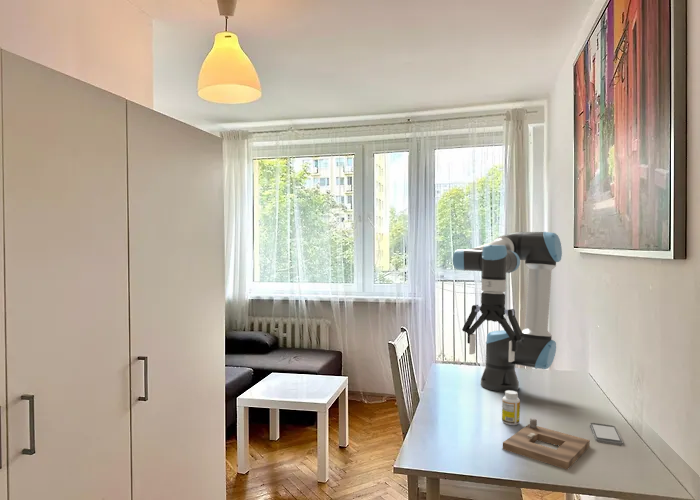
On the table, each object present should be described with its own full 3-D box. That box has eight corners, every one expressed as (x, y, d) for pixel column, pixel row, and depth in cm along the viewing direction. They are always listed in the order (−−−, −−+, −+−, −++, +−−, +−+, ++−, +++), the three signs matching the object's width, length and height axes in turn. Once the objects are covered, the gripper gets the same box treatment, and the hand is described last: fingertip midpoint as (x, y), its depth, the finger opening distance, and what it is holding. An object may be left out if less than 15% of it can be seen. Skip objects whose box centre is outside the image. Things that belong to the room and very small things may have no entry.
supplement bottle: (514, 419, 165) (515, 389, 165) (522, 425, 160) (523, 394, 159) (498, 419, 164) (499, 389, 164) (506, 426, 159) (507, 395, 159)
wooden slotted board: (529, 430, 156) (529, 416, 156) (589, 446, 144) (590, 432, 144) (502, 449, 141) (503, 434, 141) (567, 469, 129) (568, 453, 129)
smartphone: (596, 439, 148) (589, 422, 162) (596, 442, 148) (589, 425, 162) (623, 443, 146) (614, 425, 160) (623, 446, 146) (614, 429, 160)
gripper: (453, 289, 163) (451, 352, 164) (526, 296, 147) (524, 366, 147) (464, 288, 169) (462, 349, 169) (536, 295, 152) (533, 362, 153)
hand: (491, 357), depth 158 cm, fingers open, 13 cm apart
